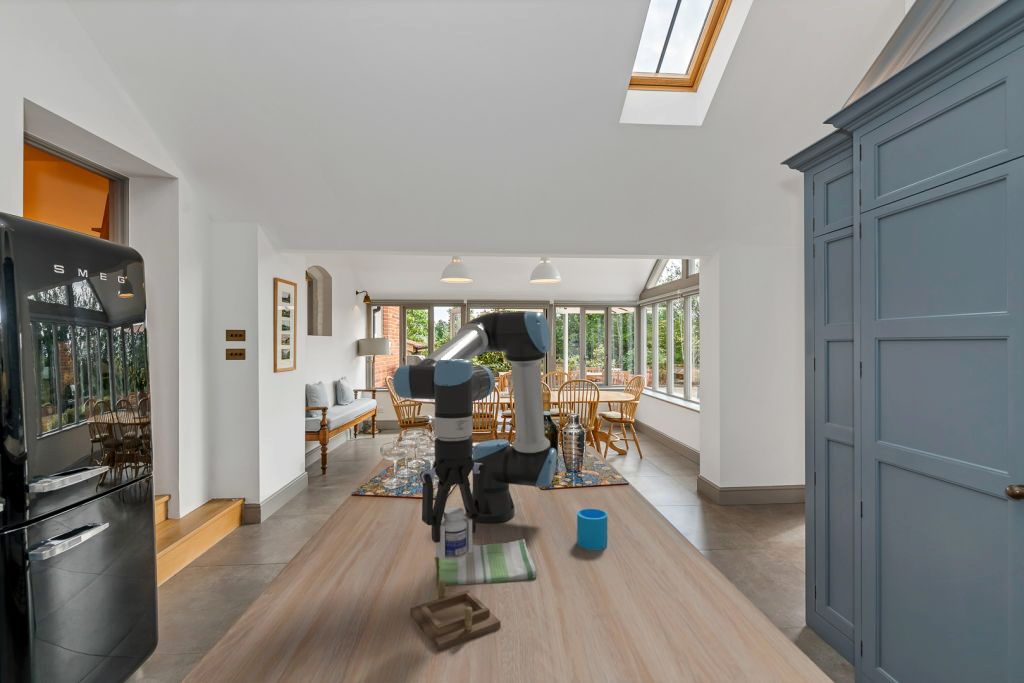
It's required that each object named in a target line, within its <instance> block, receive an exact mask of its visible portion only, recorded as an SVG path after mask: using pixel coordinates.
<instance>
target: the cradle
mask: <svg viewBox="0 0 1024 683" xmlns="http://www.w3.org/2000/svg"><path fill="white" fill-rule="evenodd" d="M437 586H438V588H437V589H438V590H437V596H438V597H437V598H438V599H434V600H431V601H428V602H425V603H423V604H419V605H415V606H413V607H412V606H411V607H410V610H409V611H410V613H411V614H410V616H411V617H412V616H413V617H412V618H413V619H414V621H415V620H416V621H415V622H416V623H417V624H418V625H419V628H421V629H422V631H423V632H424V634H426V636H427V638H429V640H430V642H432V644H433V645H434V646H435V648H436V650H438V651H439V652H440V651H442V650H446V649H448V648H450V647H451V648H452V647H453V646H455V645H459V644H461V643H464V642H467V641H469V640H472V639H473V638H477V637H479V636H483V635H485V634H487V633H490V632H493V631H496V630H498V629H500V628H501V624H502V623H501V620H500V619H499V618H498V617H497V616H495V614H493V613H492V611H491V610H490V609H489V607H487V606H486V605H485V603H483V602H482V601H481V600H480V599H479V598H478V597H477V596H476V595H474V593H472V592H471V591H470V590H469V589H466V590H462V591H460V592H456V593H453V594H450V595H447V596H446V585H445V581H444V580H440V581H439V580H438V581H437Z"/></svg>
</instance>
